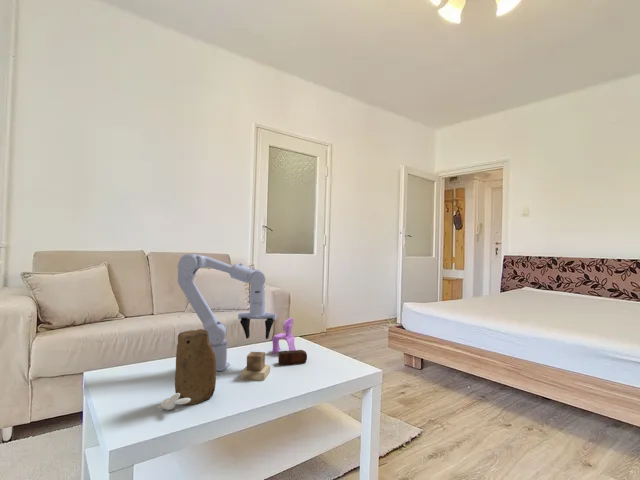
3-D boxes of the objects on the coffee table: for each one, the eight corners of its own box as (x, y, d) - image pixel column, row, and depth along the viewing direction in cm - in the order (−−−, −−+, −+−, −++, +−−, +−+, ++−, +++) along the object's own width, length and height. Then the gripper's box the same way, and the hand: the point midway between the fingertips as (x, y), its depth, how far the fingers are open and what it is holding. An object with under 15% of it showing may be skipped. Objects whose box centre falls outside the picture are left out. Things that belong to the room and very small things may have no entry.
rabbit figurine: (167, 405, 99) (192, 393, 98) (167, 419, 96) (193, 407, 96) (152, 401, 94) (179, 388, 94) (153, 416, 91) (180, 403, 91)
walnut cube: (246, 370, 120) (246, 356, 120) (251, 365, 125) (251, 351, 125) (260, 371, 119) (260, 356, 119) (264, 366, 124) (264, 352, 124)
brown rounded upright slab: (178, 408, 96) (180, 336, 97) (173, 398, 103) (174, 330, 103) (217, 399, 102) (218, 331, 103) (210, 390, 109) (211, 326, 109)
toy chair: (280, 348, 155) (280, 315, 155) (297, 351, 151) (298, 316, 152) (270, 354, 147) (270, 318, 148) (288, 356, 144) (289, 320, 144)
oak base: (241, 380, 119) (241, 371, 119) (248, 372, 126) (248, 363, 127) (264, 381, 118) (264, 372, 118) (270, 373, 126) (270, 364, 126)
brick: (280, 366, 132) (280, 354, 132) (278, 363, 136) (278, 351, 136) (307, 363, 136) (307, 351, 136) (304, 360, 139) (304, 348, 140)
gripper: (235, 303, 130) (235, 340, 129) (273, 304, 128) (273, 341, 128) (241, 300, 137) (241, 335, 136) (277, 301, 135) (277, 336, 135)
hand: (257, 338), depth 133 cm, fingers open, 7 cm apart
